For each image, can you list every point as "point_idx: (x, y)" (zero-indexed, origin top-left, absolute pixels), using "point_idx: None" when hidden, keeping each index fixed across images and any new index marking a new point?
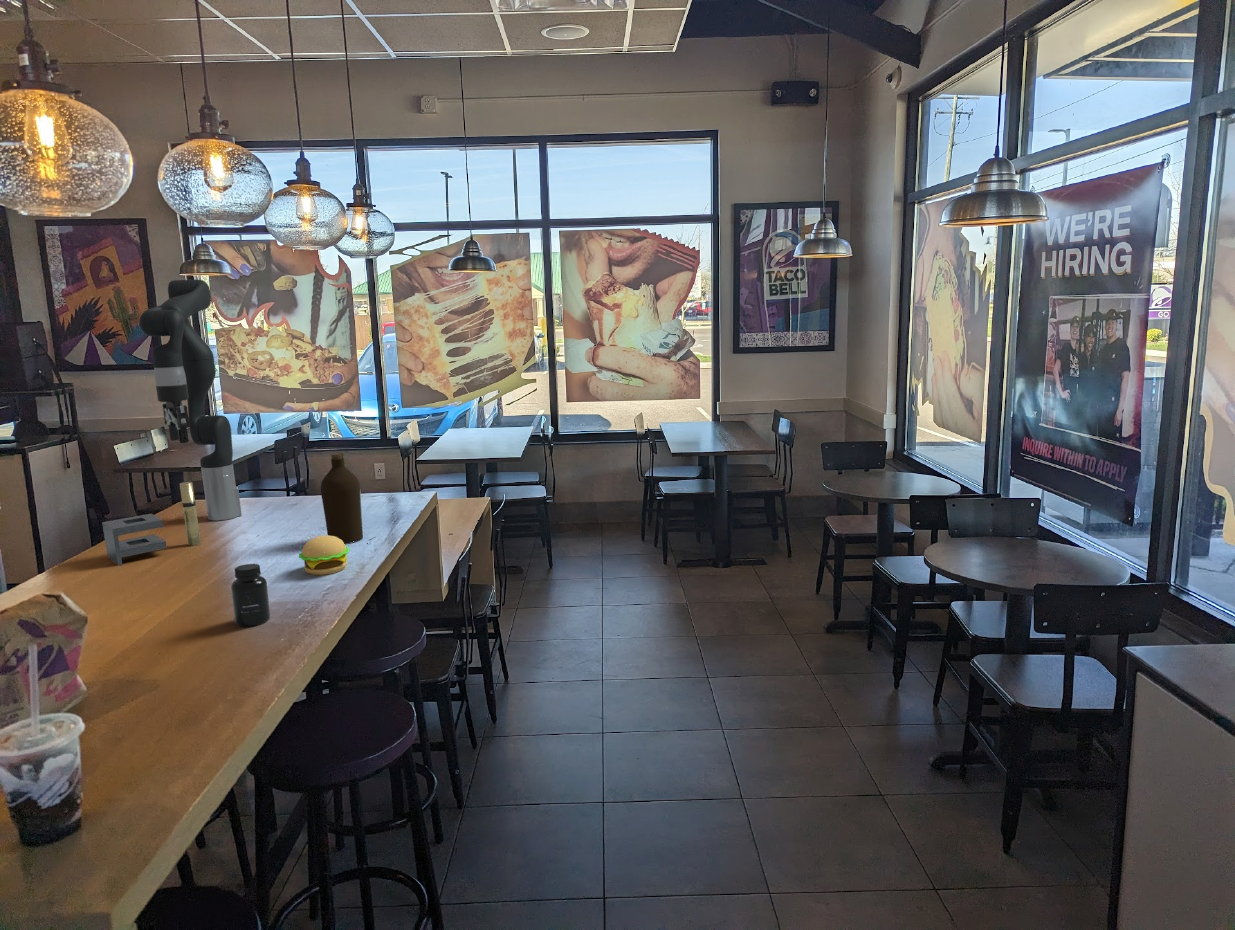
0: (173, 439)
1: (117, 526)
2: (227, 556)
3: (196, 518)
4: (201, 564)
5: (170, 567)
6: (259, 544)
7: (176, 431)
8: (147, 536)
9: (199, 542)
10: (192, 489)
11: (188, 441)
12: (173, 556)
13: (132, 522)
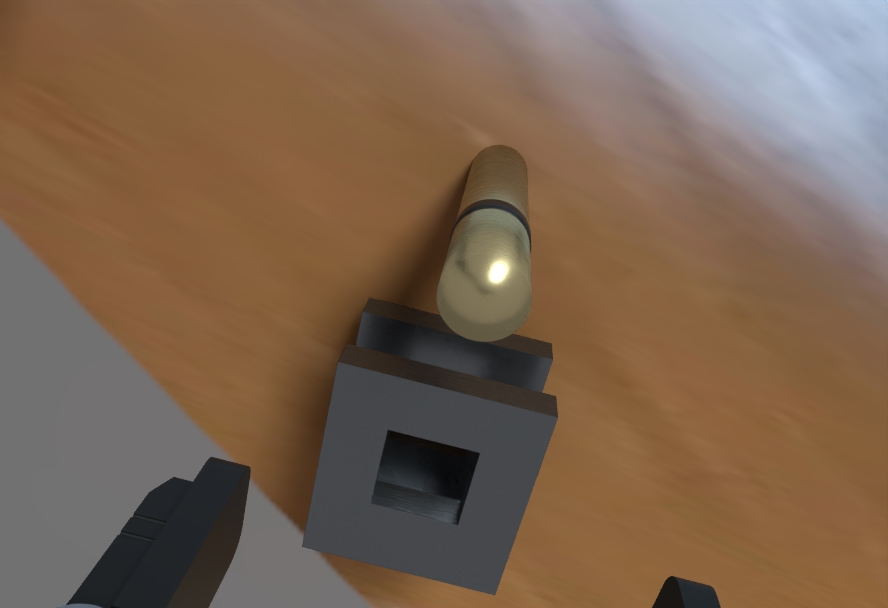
0: (236, 529)
1: (464, 563)
2: (865, 226)
3: (523, 195)
4: (842, 347)
5: (737, 420)
6: (865, 7)
7: (193, 573)
8: (378, 348)
9: (524, 164)
10: (524, 257)
11: (711, 587)
12: (595, 329)
13: (381, 457)
